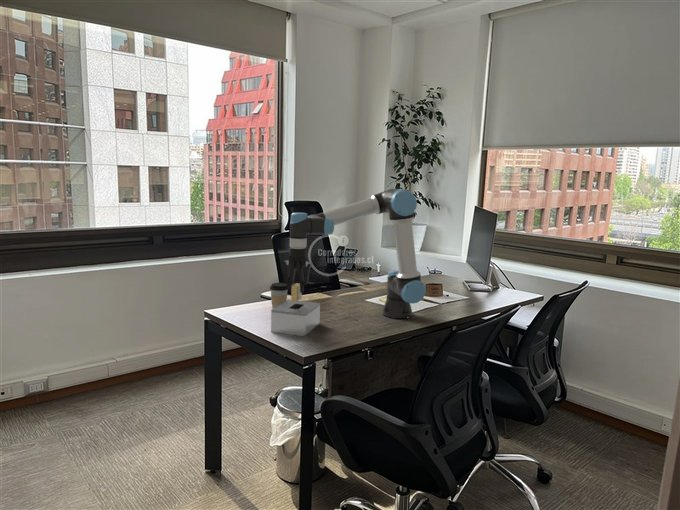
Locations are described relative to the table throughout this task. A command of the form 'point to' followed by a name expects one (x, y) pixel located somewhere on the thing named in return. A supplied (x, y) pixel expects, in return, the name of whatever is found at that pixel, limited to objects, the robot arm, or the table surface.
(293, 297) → the token
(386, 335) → the table surface
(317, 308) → the box
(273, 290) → the coffee cup
